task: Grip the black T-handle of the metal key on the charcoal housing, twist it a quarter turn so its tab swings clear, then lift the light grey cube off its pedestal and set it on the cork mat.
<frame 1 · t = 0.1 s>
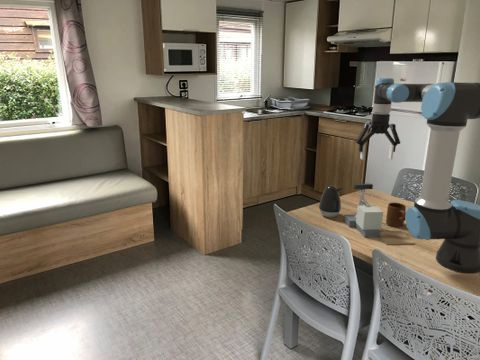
hand: (376, 158, 179), 28 cm above the table, fingers open, 13 cm apart
mat: (394, 238, 161), on the table
housing: (363, 228, 171), on the table
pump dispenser: (329, 215, 185), on the table
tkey: (364, 202, 169), point 11 cm above the table, hinge at 0.0°
light grey cube: (368, 225, 166), point 3 cm above the table, touching housing
mug: (396, 226, 173), on the table
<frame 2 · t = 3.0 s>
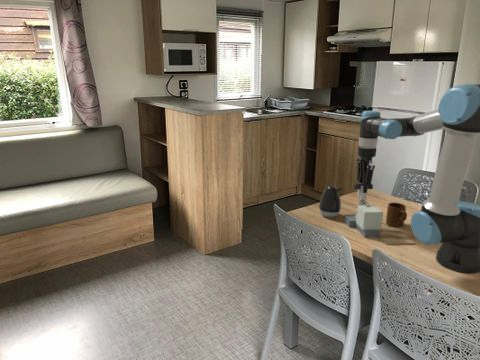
hand: (361, 198, 172), 12 cm above the table, fingers closed on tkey, 2 cm apart
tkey: (364, 202, 169), point 11 cm above the table, hinge at 0.1°, touching gripper
everything else where it was.
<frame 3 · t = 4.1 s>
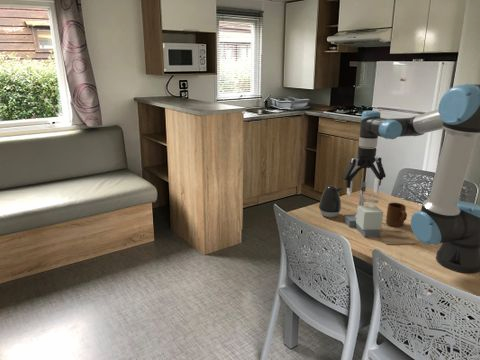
hand: (362, 193, 171), 15 cm above the table, fingers open, 13 cm apart
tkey: (368, 201, 171), point 11 cm above the table, hinge at 68.5°
everything else where it was.
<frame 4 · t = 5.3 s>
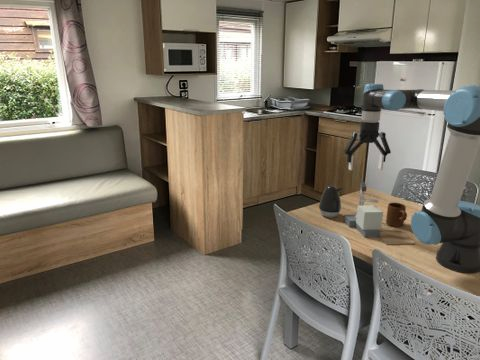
hand: (365, 169, 168), 26 cm above the table, fingers open, 13 cm apart
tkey: (368, 200, 172), point 11 cm above the table, hinge at 73.2°
everything else where it was.
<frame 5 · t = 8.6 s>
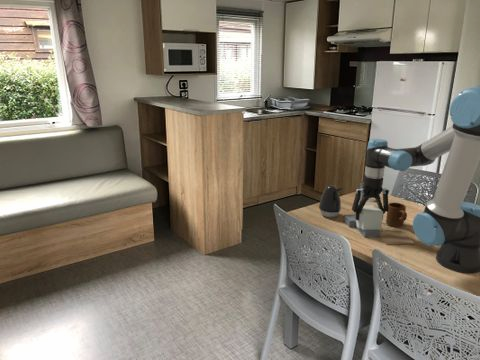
hand: (368, 226, 166), 3 cm above the table, fingers closed on light grey cube, 8 cm apart
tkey: (368, 200, 172), point 11 cm above the table, hinge at 73.9°
light grey cube: (368, 225, 166), point 3 cm above the table, touching gripper, housing
everything else where it was.
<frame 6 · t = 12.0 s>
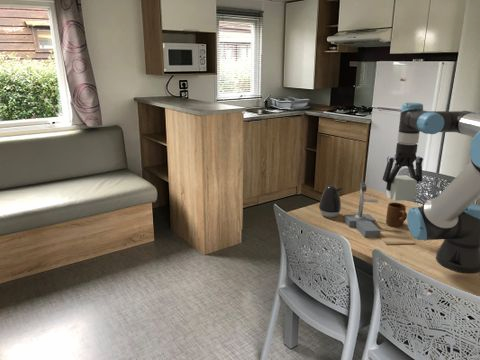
hand: (399, 197, 156), 18 cm above the table, fingers closed on light grey cube, 8 cm apart
light grey cube: (399, 197, 156), point 18 cm above the table, touching gripper
everything else where it was.
when the fingers open (1 cm above the table, at t = 15.3 s): light grey cube drops 1 cm, resting on mat.
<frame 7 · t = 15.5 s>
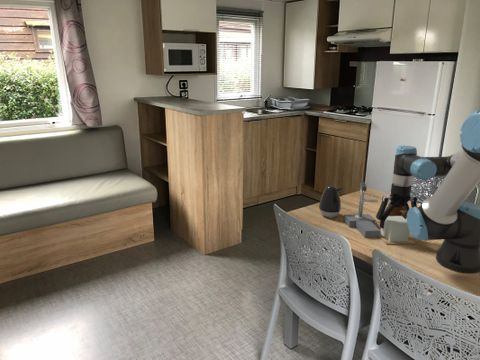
hand: (394, 234, 160), 2 cm above the table, fingers open, 10 cm apart
light grey cube: (394, 237, 161), resting on mat
everything else where it was.
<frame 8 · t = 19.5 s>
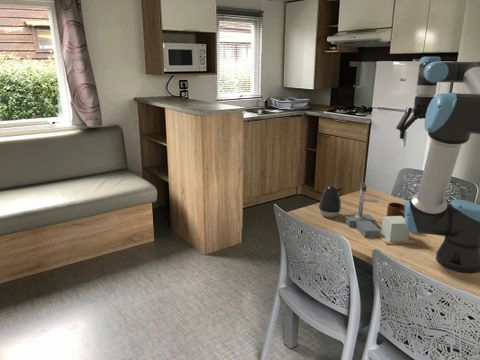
hand: (417, 146, 164), 37 cm above the table, fingers open, 13 cm apart
nothing on the table moved.
at the end: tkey at +74° (first picture: +0°); light grey cube inside the target area on the mat (0.0 cm from its centre), point 0.4 cm above the mat's base; light grey cube tilted 0° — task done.
